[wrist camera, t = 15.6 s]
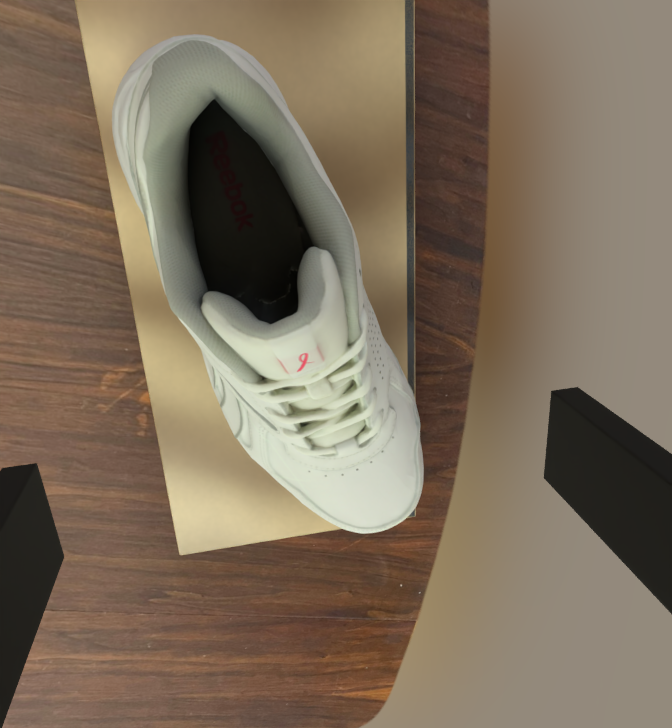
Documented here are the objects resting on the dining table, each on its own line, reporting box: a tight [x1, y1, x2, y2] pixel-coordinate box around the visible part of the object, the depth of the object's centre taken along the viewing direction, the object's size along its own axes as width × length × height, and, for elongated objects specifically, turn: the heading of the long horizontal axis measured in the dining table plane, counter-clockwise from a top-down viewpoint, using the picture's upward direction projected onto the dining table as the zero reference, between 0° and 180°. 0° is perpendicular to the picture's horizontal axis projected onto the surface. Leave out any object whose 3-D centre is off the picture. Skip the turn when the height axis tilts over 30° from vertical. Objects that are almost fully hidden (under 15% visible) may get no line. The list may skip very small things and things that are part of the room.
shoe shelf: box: [75, 0, 416, 555], centre depth 36 cm, size 32×16×5 cm, turn 3°
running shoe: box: [112, 34, 424, 533], centre depth 27 cm, size 11×27×14 cm, turn 25°
